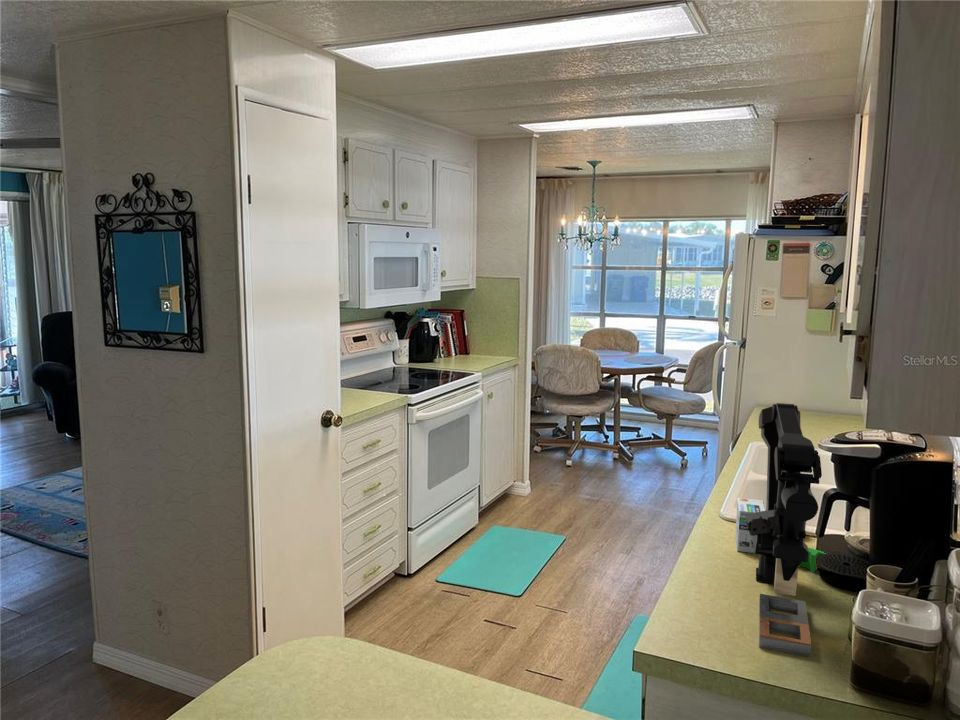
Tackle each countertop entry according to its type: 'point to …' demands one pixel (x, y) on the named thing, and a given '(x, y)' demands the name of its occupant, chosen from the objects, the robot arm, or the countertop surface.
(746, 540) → the light bulb box
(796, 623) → the grey board
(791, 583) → the beech peg
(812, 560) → the pipe clamp
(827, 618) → the countertop surface
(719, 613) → the countertop surface
